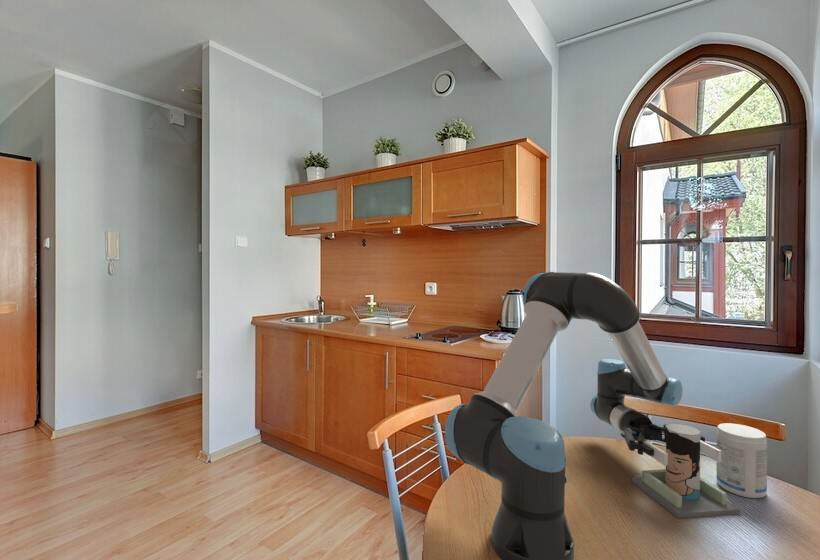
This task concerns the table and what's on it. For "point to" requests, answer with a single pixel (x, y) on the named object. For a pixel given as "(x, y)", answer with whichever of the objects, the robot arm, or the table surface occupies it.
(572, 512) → the table surface
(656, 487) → the holder
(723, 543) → the table surface
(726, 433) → the supplement tub
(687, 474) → the white printed cylinder
